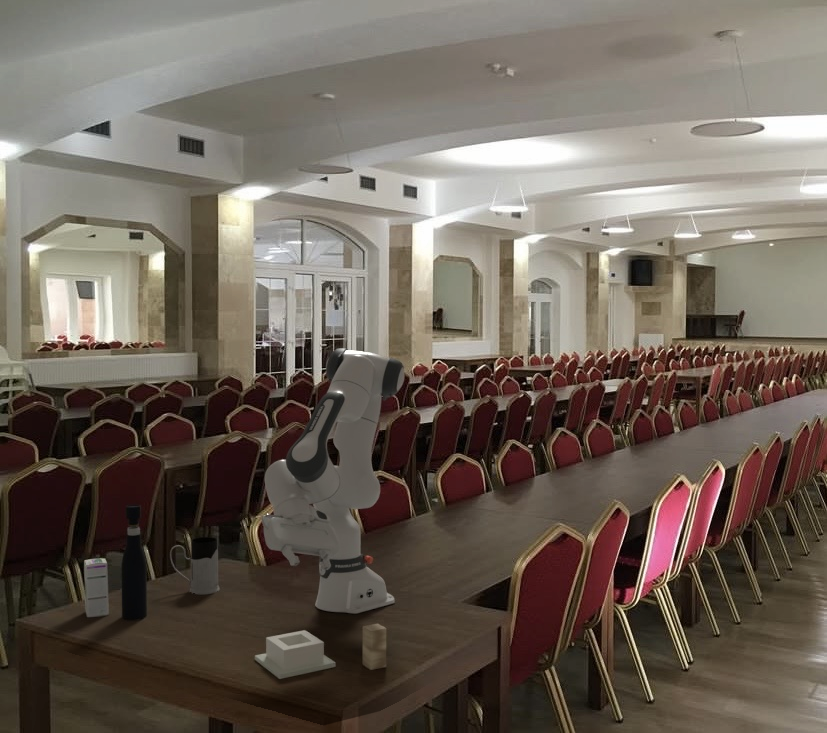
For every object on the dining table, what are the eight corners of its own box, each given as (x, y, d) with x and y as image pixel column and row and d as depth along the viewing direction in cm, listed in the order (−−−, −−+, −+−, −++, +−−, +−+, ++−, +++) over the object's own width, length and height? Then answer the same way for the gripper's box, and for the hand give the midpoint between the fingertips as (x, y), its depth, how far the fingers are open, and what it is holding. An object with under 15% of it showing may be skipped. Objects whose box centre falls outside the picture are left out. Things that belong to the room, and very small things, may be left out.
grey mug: (219, 593, 272) (219, 542, 271) (169, 596, 269) (169, 544, 268) (219, 585, 280) (219, 535, 279) (170, 587, 277) (170, 538, 276)
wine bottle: (133, 621, 246) (132, 509, 244) (116, 617, 249) (115, 506, 248) (151, 615, 251) (150, 505, 250) (135, 611, 254) (134, 502, 253)
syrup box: (109, 615, 251) (108, 562, 250) (86, 618, 249) (85, 564, 248) (106, 609, 256) (106, 557, 256) (84, 611, 254) (83, 559, 253)
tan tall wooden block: (377, 661, 218) (377, 623, 217) (386, 666, 214) (386, 628, 214) (362, 664, 215) (362, 626, 215) (371, 670, 212) (371, 631, 212)
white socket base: (308, 648, 226) (308, 626, 225) (335, 666, 214) (335, 643, 214) (254, 659, 218) (254, 636, 218) (279, 679, 206) (279, 654, 206)
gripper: (267, 505, 217) (283, 553, 208) (333, 516, 231) (351, 562, 222) (252, 521, 219) (267, 570, 211) (319, 531, 233) (336, 577, 225)
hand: (311, 566), depth 217 cm, fingers open, 8 cm apart
